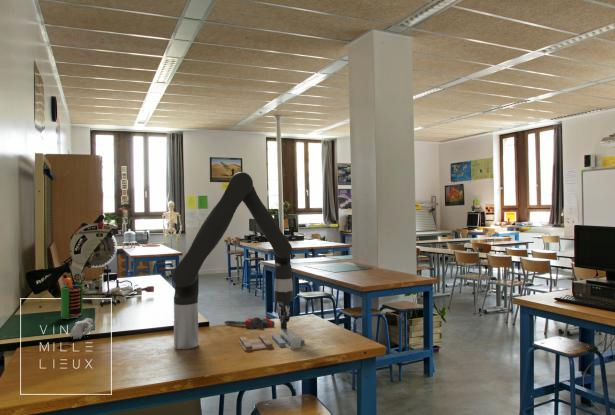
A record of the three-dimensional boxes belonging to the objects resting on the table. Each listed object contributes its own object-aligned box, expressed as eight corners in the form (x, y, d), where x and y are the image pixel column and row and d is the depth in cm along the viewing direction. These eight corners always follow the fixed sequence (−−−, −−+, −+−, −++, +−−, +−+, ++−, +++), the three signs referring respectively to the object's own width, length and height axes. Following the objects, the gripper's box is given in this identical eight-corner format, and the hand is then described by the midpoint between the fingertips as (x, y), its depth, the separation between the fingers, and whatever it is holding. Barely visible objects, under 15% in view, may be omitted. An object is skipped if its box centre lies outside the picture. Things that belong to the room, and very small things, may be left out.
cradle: (273, 352, 170) (273, 343, 170) (245, 355, 167) (245, 347, 167) (265, 342, 183) (265, 334, 183) (238, 345, 179) (238, 337, 179)
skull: (62, 334, 187) (75, 310, 196) (73, 346, 193) (85, 321, 202) (79, 334, 186) (91, 309, 195) (89, 345, 192) (101, 321, 200)
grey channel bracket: (305, 347, 175) (305, 340, 175) (278, 351, 171) (278, 343, 171) (296, 339, 186) (296, 332, 186) (270, 342, 183) (270, 334, 183)
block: (300, 347, 170) (300, 337, 170) (290, 349, 169) (290, 338, 169) (289, 337, 184) (289, 327, 184) (280, 338, 182) (279, 328, 182)
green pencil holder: (74, 320, 222) (74, 279, 222) (56, 320, 222) (56, 279, 222) (85, 315, 232) (84, 276, 232) (67, 315, 232) (67, 276, 232)
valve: (284, 329, 209) (268, 333, 196) (237, 326, 220) (219, 329, 206) (284, 315, 210) (268, 318, 196) (237, 313, 221) (219, 315, 207)
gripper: (270, 287, 189) (270, 328, 189) (279, 292, 177) (279, 336, 177) (287, 285, 192) (287, 326, 192) (297, 291, 179) (297, 334, 180)
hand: (283, 331), depth 184 cm, fingers closed
